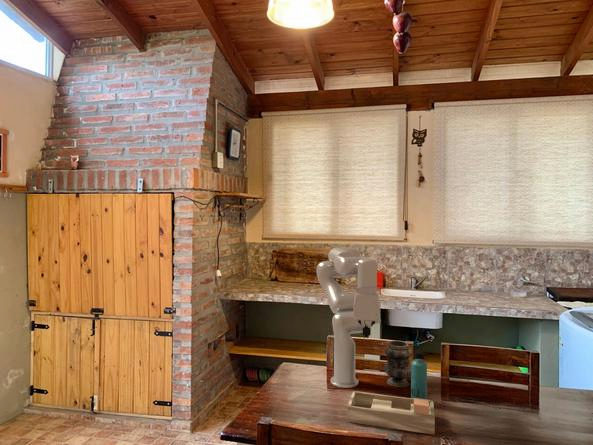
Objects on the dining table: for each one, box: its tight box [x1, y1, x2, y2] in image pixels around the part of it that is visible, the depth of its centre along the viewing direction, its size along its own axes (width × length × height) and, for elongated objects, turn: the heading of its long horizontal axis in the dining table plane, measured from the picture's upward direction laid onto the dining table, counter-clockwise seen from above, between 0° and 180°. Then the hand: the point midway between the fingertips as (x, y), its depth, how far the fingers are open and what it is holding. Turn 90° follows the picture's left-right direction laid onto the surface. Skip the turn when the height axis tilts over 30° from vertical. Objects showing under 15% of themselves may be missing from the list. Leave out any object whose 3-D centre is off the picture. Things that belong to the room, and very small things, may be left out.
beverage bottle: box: [410, 350, 428, 400], centre depth 164 cm, size 6×7×20 cm
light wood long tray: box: [346, 390, 436, 436], centre depth 150 cm, size 14×30×6 cm, turn 74°
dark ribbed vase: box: [383, 340, 413, 388], centre depth 183 cm, size 12×12×18 cm
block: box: [414, 398, 430, 416], centre depth 143 cm, size 5×5×5 cm
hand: (366, 336), depth 160 cm, fingers closed
